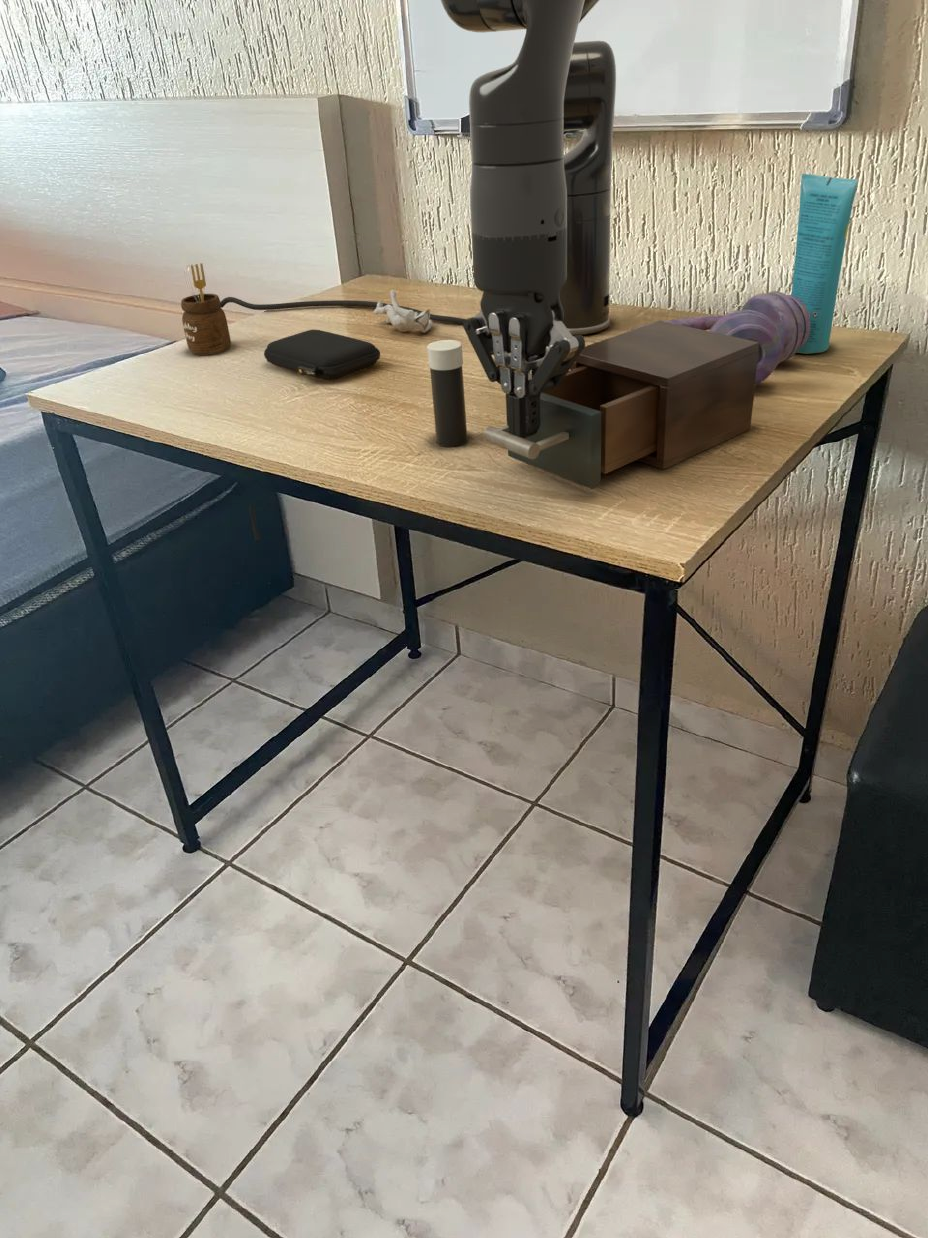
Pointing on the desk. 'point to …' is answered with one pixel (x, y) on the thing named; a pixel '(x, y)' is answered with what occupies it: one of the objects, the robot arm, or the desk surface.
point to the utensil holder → (204, 320)
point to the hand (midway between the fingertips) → (523, 434)
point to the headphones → (762, 327)
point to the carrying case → (322, 354)
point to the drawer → (588, 426)
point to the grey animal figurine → (404, 316)
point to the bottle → (448, 392)
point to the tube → (821, 251)
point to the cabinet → (685, 383)
